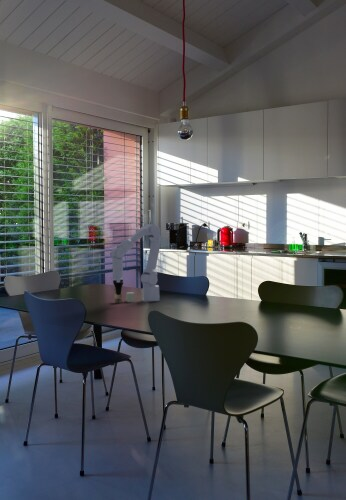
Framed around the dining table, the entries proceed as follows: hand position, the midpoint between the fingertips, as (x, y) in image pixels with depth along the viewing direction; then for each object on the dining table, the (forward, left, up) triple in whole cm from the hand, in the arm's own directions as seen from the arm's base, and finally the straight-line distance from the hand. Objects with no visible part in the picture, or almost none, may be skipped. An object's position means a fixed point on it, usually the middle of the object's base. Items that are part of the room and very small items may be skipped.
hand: (118, 293), depth 289 cm
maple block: (0, -3, -4) cm, 6 cm away
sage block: (-7, -8, -6) cm, 12 cm away
